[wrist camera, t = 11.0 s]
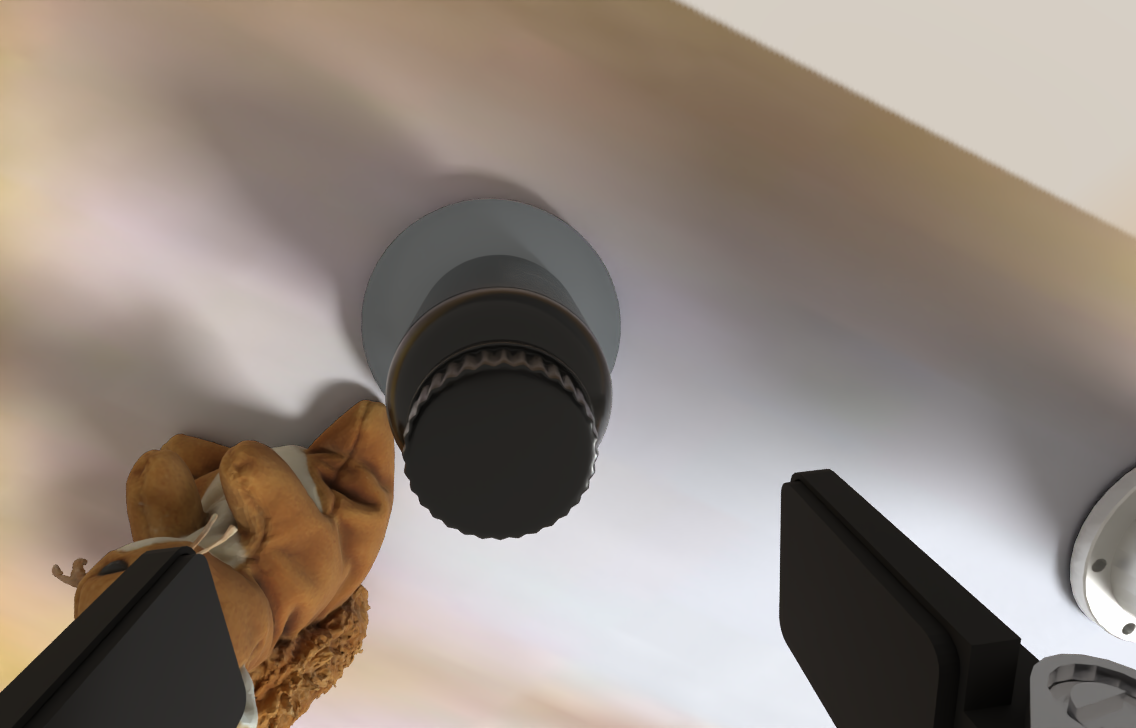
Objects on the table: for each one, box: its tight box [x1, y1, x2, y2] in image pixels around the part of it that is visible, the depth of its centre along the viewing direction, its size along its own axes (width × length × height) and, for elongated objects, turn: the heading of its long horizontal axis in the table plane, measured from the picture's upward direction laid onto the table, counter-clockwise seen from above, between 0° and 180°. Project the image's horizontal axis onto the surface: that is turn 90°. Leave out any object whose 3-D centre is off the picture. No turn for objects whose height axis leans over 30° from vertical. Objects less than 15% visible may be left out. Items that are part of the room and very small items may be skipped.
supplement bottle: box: [385, 255, 612, 540], centre depth 20 cm, size 7×7×12 cm
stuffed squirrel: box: [52, 400, 395, 728], centre depth 23 cm, size 10×14×13 cm
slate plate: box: [361, 198, 620, 395], centre depth 27 cm, size 11×11×2 cm
